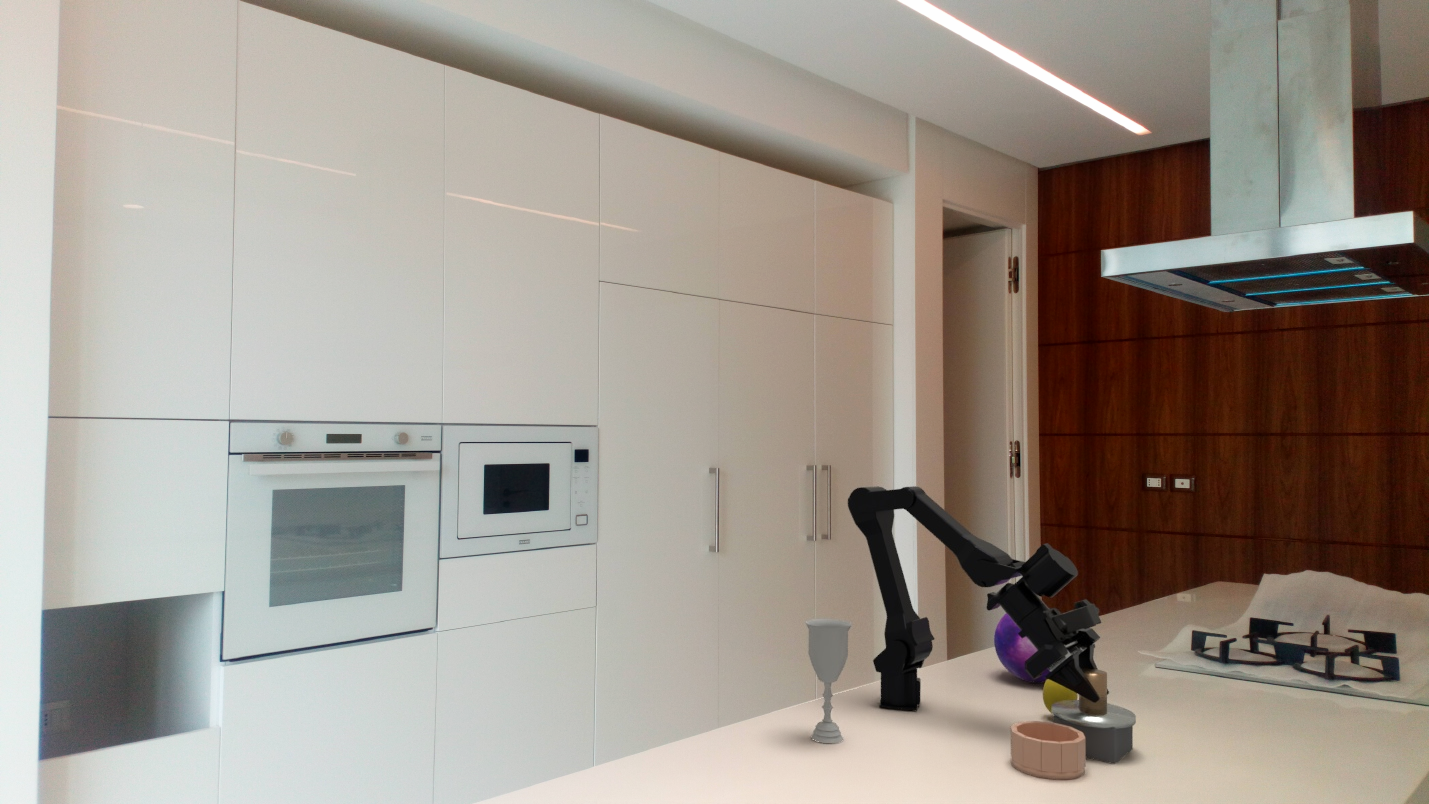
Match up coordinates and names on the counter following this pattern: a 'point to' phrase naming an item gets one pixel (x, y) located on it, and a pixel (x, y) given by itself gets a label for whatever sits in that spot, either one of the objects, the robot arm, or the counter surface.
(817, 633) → the chalice
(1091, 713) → the lid
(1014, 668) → the decorative orb
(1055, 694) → the lemon
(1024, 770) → the bowl
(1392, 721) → the counter surface
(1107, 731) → the block
